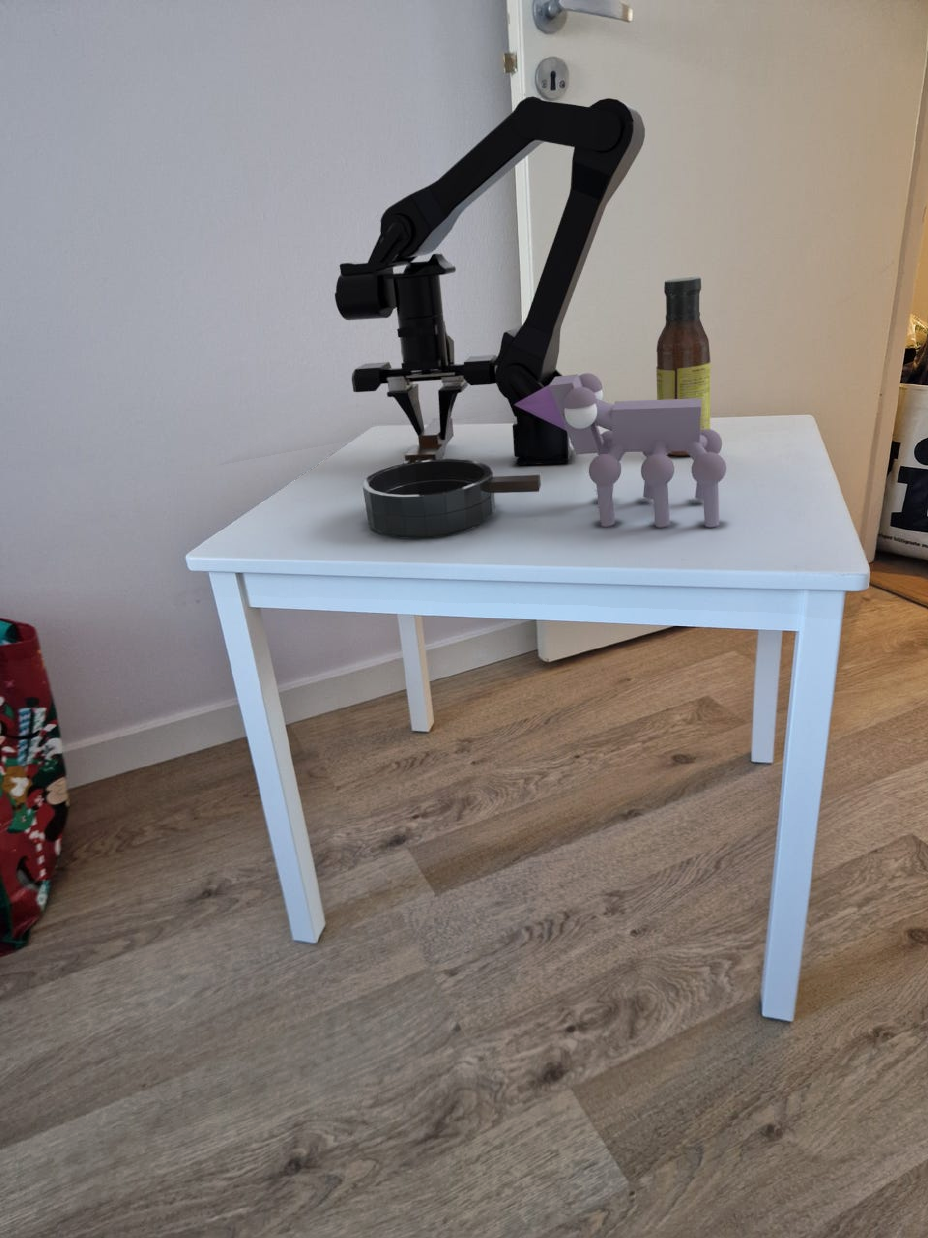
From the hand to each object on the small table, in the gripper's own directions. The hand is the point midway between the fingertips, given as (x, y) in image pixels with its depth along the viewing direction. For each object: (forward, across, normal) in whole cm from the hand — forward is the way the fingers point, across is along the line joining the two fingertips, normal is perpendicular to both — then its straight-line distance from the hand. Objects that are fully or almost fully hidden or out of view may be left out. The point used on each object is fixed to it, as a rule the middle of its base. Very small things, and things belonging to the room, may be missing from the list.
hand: (433, 439), depth 105 cm
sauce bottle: (+2, -32, +2) cm, 32 cm away
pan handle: (-1, -14, +25) cm, 29 cm away
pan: (+2, -5, +25) cm, 26 cm away
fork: (+1, 0, +2) cm, 2 cm away
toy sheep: (+2, -24, +25) cm, 35 cm away
